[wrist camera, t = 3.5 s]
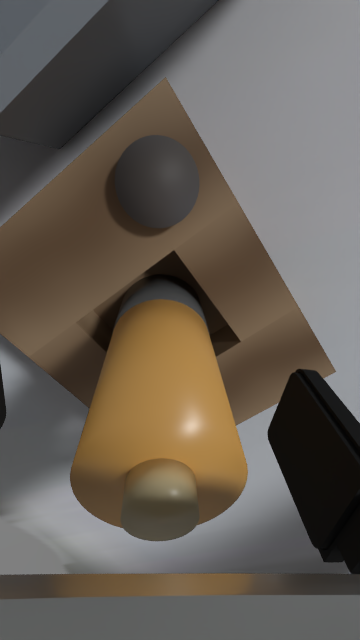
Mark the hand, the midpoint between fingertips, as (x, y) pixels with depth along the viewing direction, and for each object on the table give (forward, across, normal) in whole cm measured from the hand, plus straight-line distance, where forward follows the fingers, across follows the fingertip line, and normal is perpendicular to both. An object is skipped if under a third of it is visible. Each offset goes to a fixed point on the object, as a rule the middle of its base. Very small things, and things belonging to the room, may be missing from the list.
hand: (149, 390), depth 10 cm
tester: (+7, 0, 0) cm, 7 cm away
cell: (+6, 0, 0) cm, 6 cm away
